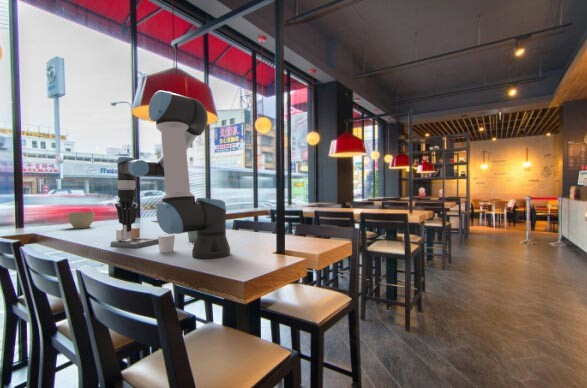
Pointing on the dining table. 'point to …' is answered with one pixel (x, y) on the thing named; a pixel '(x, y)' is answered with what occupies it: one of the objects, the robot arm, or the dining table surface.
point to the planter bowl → (81, 219)
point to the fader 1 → (120, 234)
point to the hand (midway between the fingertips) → (127, 238)
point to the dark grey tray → (134, 242)
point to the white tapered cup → (166, 243)
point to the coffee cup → (192, 236)
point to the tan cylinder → (135, 232)
